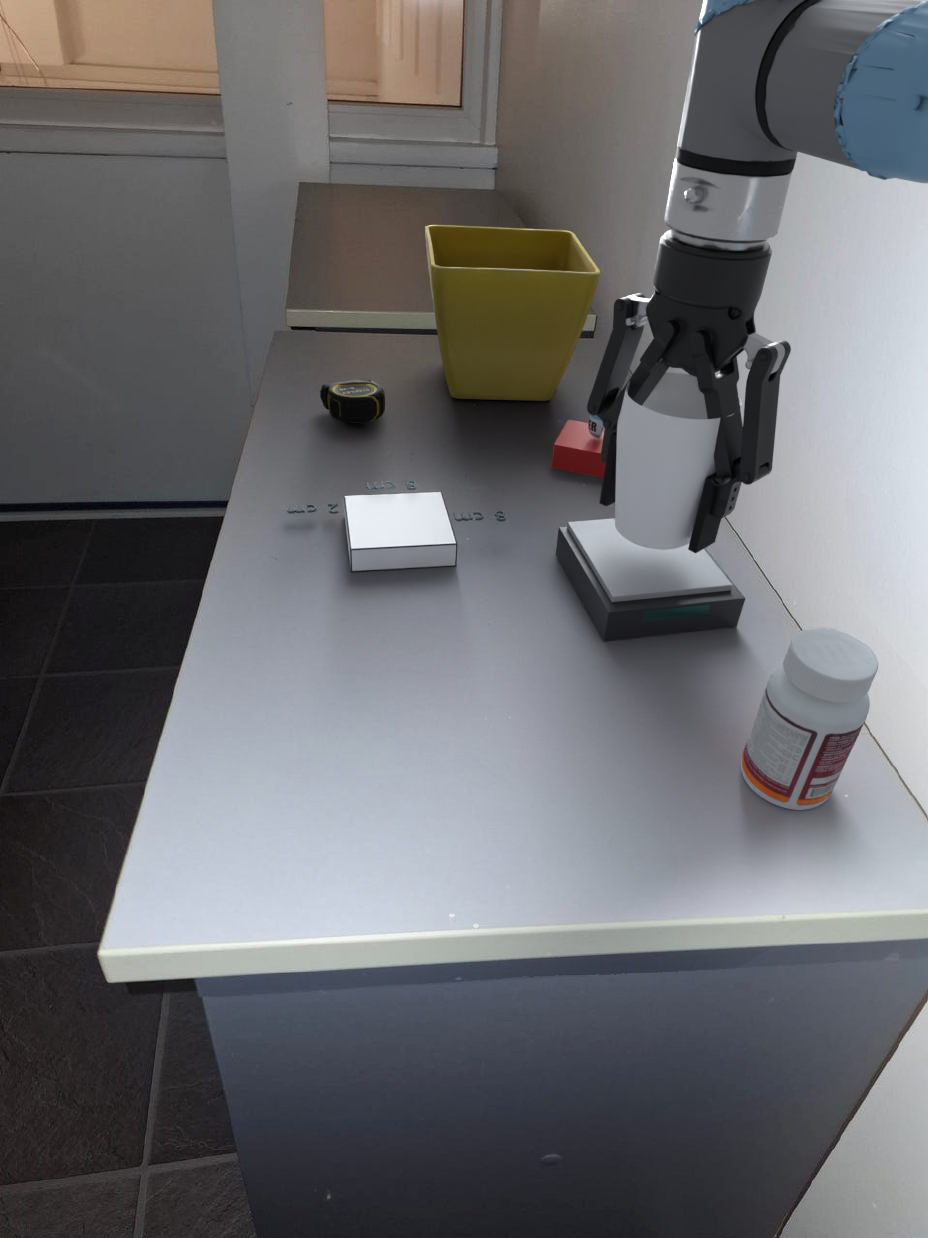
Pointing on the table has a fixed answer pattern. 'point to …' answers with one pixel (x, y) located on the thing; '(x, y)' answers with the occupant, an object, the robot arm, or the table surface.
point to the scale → (644, 584)
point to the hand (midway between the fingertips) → (655, 521)
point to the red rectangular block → (580, 448)
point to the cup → (663, 462)
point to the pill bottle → (809, 718)
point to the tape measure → (354, 400)
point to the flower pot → (508, 307)
